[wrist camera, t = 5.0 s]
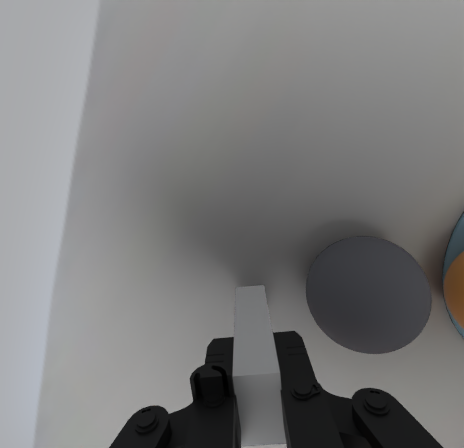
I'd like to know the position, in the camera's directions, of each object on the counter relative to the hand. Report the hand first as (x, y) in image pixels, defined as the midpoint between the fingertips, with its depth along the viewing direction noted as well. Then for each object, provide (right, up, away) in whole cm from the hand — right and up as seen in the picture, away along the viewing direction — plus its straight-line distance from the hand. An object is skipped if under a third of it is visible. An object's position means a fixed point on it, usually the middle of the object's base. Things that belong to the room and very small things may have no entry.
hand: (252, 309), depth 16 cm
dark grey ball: (+5, +1, -1) cm, 6 cm away
